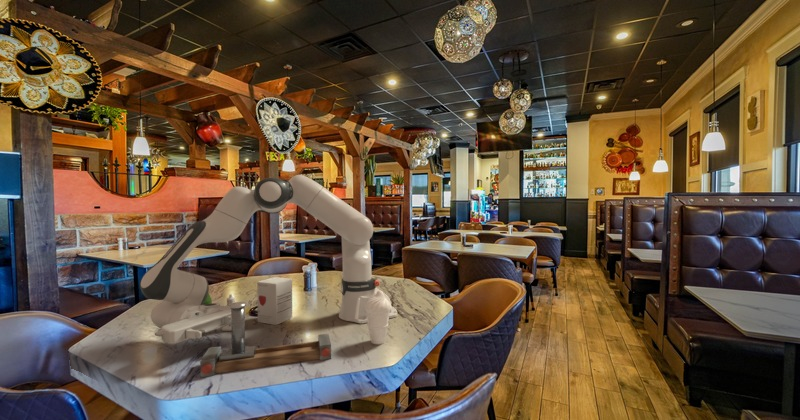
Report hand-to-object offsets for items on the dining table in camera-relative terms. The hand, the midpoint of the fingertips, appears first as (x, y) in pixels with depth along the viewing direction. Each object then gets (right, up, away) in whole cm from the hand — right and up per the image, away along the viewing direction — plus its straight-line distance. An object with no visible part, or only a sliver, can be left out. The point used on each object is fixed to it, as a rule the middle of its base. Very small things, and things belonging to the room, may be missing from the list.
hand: (219, 328), depth 92 cm
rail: (+15, -8, -1) cm, 17 cm away
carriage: (+7, -7, -4) cm, 10 cm away
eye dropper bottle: (-8, -8, +22) cm, 25 cm away
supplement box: (+4, -8, +31) cm, 32 cm away
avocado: (-27, -8, +35) cm, 45 cm away
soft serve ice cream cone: (+44, -8, +11) cm, 46 cm away
